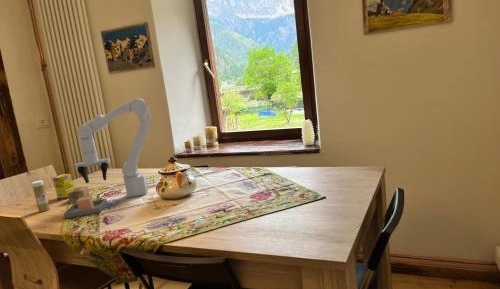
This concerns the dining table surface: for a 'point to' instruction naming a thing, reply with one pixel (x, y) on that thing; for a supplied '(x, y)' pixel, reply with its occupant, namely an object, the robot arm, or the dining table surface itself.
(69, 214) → the tray
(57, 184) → the supplement box
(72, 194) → the oak block
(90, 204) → the terracotta block
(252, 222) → the dining table surface
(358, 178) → the dining table surface
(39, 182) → the sprinkles bottle
